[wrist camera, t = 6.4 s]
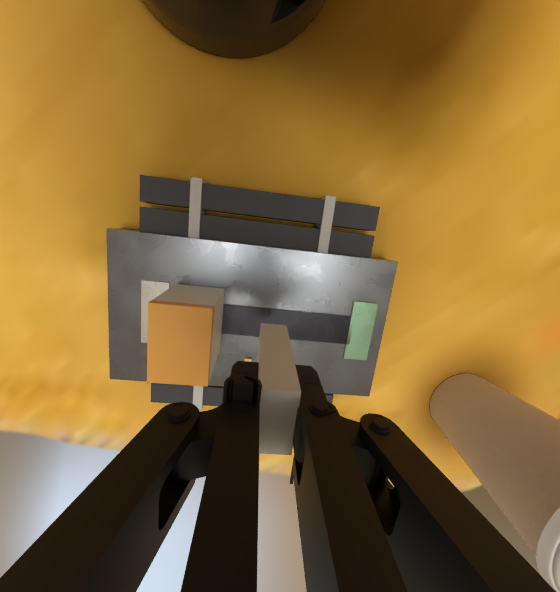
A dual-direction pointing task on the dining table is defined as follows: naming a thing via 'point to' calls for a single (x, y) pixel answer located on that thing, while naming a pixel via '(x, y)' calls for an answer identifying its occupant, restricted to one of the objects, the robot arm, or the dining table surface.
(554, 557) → the coffee cup
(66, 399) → the dining table surface
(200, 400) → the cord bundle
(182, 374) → the lever
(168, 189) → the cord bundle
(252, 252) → the panel
